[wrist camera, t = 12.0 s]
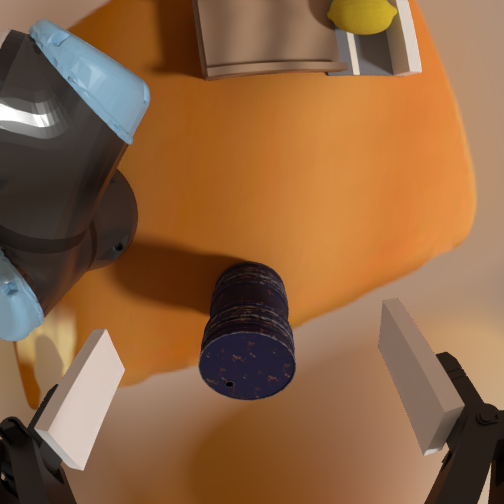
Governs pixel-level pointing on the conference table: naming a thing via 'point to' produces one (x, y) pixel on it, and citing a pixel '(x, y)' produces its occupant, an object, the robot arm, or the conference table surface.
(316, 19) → the ramp
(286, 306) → the dark blue upright cylinder
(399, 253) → the conference table surface
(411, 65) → the rail
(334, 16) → the lemon
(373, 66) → the lane mat
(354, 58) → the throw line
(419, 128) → the conference table surface
